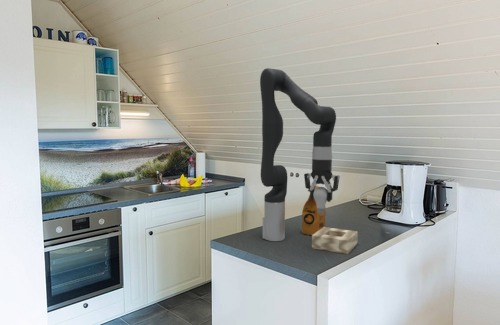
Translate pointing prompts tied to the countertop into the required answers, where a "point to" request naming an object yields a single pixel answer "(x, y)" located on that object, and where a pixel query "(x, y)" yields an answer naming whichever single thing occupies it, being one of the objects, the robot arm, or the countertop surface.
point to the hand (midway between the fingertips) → (321, 200)
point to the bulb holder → (334, 240)
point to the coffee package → (312, 217)
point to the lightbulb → (320, 198)
